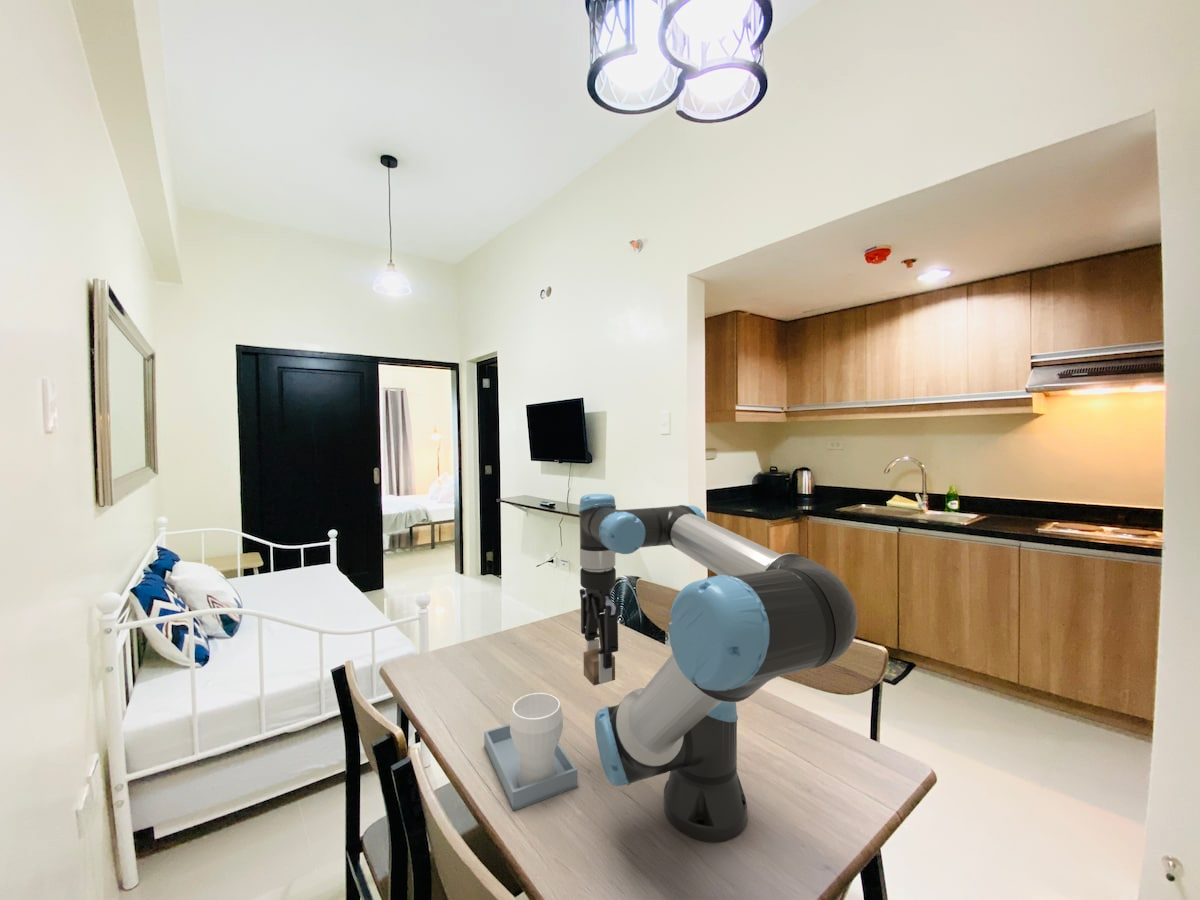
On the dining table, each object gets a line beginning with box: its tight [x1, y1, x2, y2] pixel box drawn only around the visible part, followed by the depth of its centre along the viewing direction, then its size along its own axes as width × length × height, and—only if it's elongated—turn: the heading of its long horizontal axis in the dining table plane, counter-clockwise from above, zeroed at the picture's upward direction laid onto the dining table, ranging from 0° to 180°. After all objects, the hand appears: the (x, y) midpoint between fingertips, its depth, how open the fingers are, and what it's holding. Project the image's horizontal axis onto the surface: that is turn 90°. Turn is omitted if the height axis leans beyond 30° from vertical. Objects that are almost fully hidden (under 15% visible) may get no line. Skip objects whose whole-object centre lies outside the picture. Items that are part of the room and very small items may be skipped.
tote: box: [483, 723, 579, 812], centre depth 101 cm, size 21×13×4 cm, turn 28°
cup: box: [509, 692, 564, 787], centre depth 96 cm, size 11×11×15 cm
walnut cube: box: [582, 647, 616, 686], centre depth 102 cm, size 5×5×5 cm
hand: (599, 675), depth 102 cm, fingers closed on walnut cube, 5 cm apart
